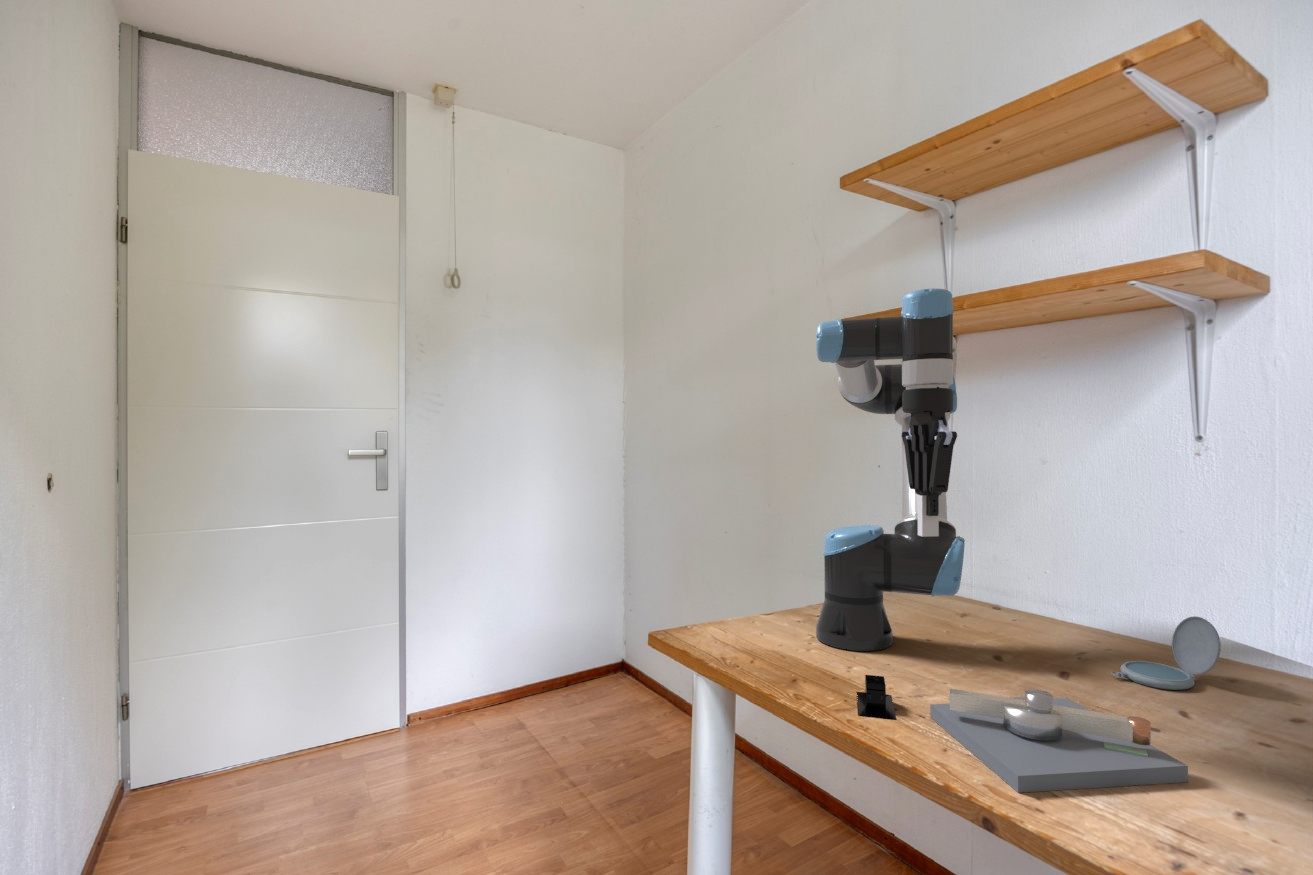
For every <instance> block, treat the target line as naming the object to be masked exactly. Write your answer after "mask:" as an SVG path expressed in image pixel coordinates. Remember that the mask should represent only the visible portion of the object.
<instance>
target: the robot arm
mask: <svg viewBox="0 0 1313 875" xmlns="http://www.w3.org/2000/svg"><path fill="white" fill-rule="evenodd" d="M901 302H902V303H901V312H900V314H901V315H897V316H896V315H895V316H885V317H883V316H882V317H868V318H867V317H866V318H865V317H864V318H853V319H840V318H839V319H838V318H837V319H834V320H829V321H828V320H827V321H822V322H820V323H819V324H818V325H817V327H816V333H815V347H816V356H817V359H818V361H820V362H821V363H832V364H834V365H835V368H836V370H837V374H838V376H839V377H838V379H837V388H838V390H839V392H840V394H841V396H842V398H843V399H844V400H845V401H846V402H847V403H848V404H850V405H852V407H853V406H854V407H855V408H857V409H859V410H862V411H864V412H867V413H871V414H877V415H894V420H895V421H896V423H897V424H899V425H900V426H901V492H902V493H901V494H902V496H901V509H902V510H901V513H902V514H901V515H902V516H901V517H902V518H901V520H900V521H898V522H897V523H896V524H895V525H894V533H884V532H885V531H884V529H883V527H882V526H881V525H876V524H875V525H873V524H872V525H870V524H869V525H867V524H864V525H862V524H861V525H852V526H844V527H840V528H836V529H832V530H830V531H829V532H828V533H826V534H825V537H824V547H823V552H822V553H823V556H824V558H823V559H824V601H823V604H822V608H821V610H820V613H819V616H818V619H817V623H816V626H815V632H816V633H815V634H816V635H815V637H816V639H817V640H818V641H819V642H821V643H823V644H825V645H827V646H829V645H830V647H832V648H835V649H837V648H838V649H840V650H841V649H842V650H846V649H847V650H848V651H855V652H857V651H858V652H871V651H872V652H873V651H881V650H884V649H887V648H889V647H891V646H892V645H893V641H894V640H893V634H894V633H893V630H892V625H891V623H890V620H889V617H888V615H887V612H886V608H885V604H884V592H886V593H898V594H911V595H923V596H924V595H925V596H931V597H935V596H937V597H938V596H939V597H951V596H955V595H956V594H958V592H959V590H960V587H961V582H962V581H961V580H962V574H963V567H964V558H965V557H964V556H965V547H966V546H965V541H966V539H965V538H964V537H963V536H962V537H961V536H960V535H959V536H958V535H957V530H956V527H955V525H953V524H952V523H951V522H949V521H948V506H947V492H948V491H949V484H950V483H949V482H950V476H951V475H950V474H951V467H952V460H953V454H954V447H955V443H956V441H957V438H958V433H957V431H953V430H952V431H950V430H949V429H948V422H949V421H950V418H951V414H953V413H955V412H957V408H958V395H957V385H956V380H955V375H954V371H955V369H954V367H953V366H954V364H953V362H954V360H953V359H954V356H953V355H954V354H953V353H954V351H953V347H954V312H955V308H954V305H953V302H954V301H953V294H952V292H951V291H950V290H948V289H946V288H922V289H916V290H914V291H908V293H905V295H904V296H903V297H902V301H901ZM884 360H902V361H901V363H900V364H898V363H897V364H896V363H895V364H876V363H875V362H876V361H884Z"/></svg>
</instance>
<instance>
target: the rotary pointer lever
mask: <svg viewBox="0 0 1313 875" xmlns="http://www.w3.org/2000/svg"><path fill="white" fill-rule="evenodd" d="M1024 692H1025V693H1024V694H1025V695H1024V696H1013V697H1007V696H1006V697H1004V696H1001V695H1000V696H998V695H993V694H987V693H981V692H973V691H968V690H961V689H956V688H949V703H950V710H954V711H959V712H965V713H971V714H976V715H982V716H988V717H994V718H999V719H1003V725H1004V726H1005V727H1006V728H1007V729H1008V730H1010V731H1011V732H1013V733H1015V734H1018V735H1020V736H1023V737H1026V738H1030V739H1036V740H1045V741H1050V740H1057V739H1059V738H1061V737H1062V730H1068V731H1074V732H1080V733H1085V734H1091V735H1097V736H1103V737H1108V738H1114V739H1120V740H1125V741H1131V742H1133V743H1135V744H1139V745H1152V743H1151V742H1152V741H1151V736H1152V735H1151V734H1152V732H1151V729H1152V727H1151V721H1150V720H1148V719H1147V718H1143V717H1140V716H1131V715H1130V716H1124V715H1117V714H1111V713H1104V712H1099V711H1093V710H1090V711H1087V710H1081V709H1075V708H1068V707H1062V706H1056V705H1053V694H1051V693H1050V692H1047V691H1045V690H1040V689H1034V688H1033V689H1026V690H1025V691H1024Z"/></svg>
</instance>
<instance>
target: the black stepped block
mask: <svg viewBox="0 0 1313 875" xmlns="http://www.w3.org/2000/svg"><path fill="white" fill-rule="evenodd" d="M864 677H865V678H864V692H863V691H856V692H855V694H856V693H857V695H858V696H856V708H857V711H856V712H857V716H858V717H865V718H873V719H881V720H890V721H897V715H896V710H895V706H894V705H895V704H894V701H893V697H892V695H891V694H887V692H886V691H887V690H886V688H887V684H886V680H885V676H883V675H871V674H865V675H864ZM857 697H858V698H857ZM857 699H858V700H857ZM857 701H858V702H857ZM892 701H893V702H892Z"/></svg>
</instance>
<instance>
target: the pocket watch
mask: <svg viewBox="0 0 1313 875" xmlns="http://www.w3.org/2000/svg"><path fill="white" fill-rule="evenodd" d="M1220 639H1221V638H1220V636H1219V633H1218V630H1217V629H1216V628H1215V626H1214V625H1213V624H1212V623H1211V622H1210V621H1209V620H1208V619H1205V618H1204V617H1202V616H1201V617H1200V616H1190V617H1186V618H1184V619H1183V620H1181V621H1180V622H1179V623H1178V625H1177V626H1176V628H1175V630H1173V635H1172V639H1171V649H1172V654H1173V658H1174V660H1175V662H1176V664H1177V665H1178V666H1179V667H1180V668H1178V667H1175V666H1172V665H1169V664H1165V663H1159V662H1156V661H1148V660H1147V661H1146V660H1131V661H1125V662H1124V663H1123V664H1121V666H1120V668H1119V669H1120V671H1111V672H1110V674H1111V675H1112V676H1115V677H1118V678H1122V679H1123V678H1125V677H1126V678H1127V679H1128V680H1130V681H1132V682H1134V683H1137V684H1140V685H1143V686H1145V687H1146V686H1147V687H1150V688H1154V689H1161V690H1168V691H1183V690H1184V691H1185V690H1188V689H1191V688H1192V687H1194V685H1195V679H1194V678H1195V677H1196V676H1195V675H1201V674H1205V673H1207V672H1209V671H1211V670H1212V669H1213V668H1214V667H1215V666H1216V664H1217V662H1218V660H1219V658H1220V655H1221V650H1222V648H1221V647H1222V646H1221V640H1220Z"/></svg>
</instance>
